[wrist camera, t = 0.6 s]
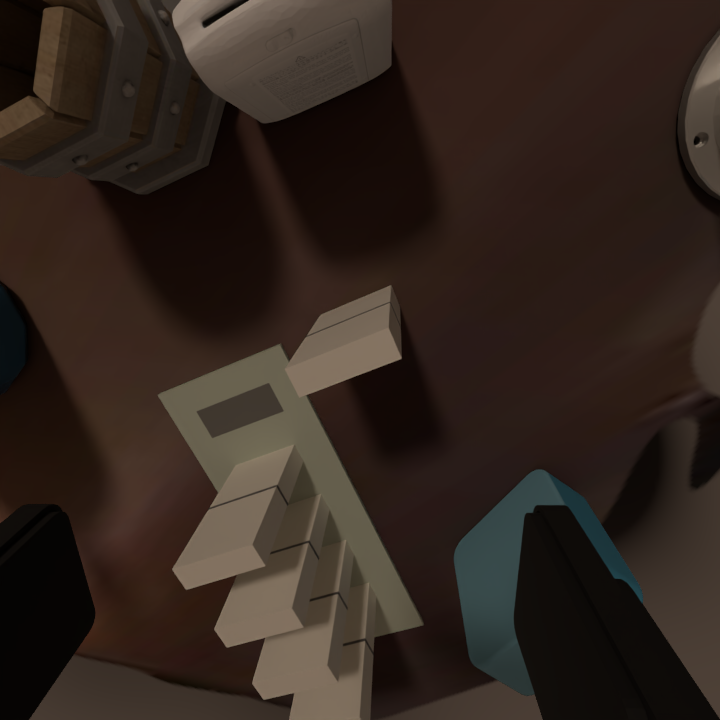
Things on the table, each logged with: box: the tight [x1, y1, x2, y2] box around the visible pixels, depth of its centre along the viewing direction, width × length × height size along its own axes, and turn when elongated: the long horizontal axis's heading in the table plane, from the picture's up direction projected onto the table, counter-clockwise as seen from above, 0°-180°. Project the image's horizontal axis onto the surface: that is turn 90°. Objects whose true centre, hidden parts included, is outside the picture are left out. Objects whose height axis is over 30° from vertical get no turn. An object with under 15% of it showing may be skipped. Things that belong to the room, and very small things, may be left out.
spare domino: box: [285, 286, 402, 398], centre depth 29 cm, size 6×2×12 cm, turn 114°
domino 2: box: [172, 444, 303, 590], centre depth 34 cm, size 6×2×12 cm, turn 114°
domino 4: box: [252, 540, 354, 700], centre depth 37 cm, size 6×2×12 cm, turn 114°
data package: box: [454, 470, 643, 696], centre depth 34 cm, size 12×4×12 cm, turn 145°
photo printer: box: [172, 0, 392, 123], centre depth 23 cm, size 10×4×12 cm, turn 111°
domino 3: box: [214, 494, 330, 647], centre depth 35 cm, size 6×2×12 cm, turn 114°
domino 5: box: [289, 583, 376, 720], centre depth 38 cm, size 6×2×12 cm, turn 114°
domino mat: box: [158, 344, 424, 637], centre depth 41 cm, size 12×32×1 cm, turn 24°
